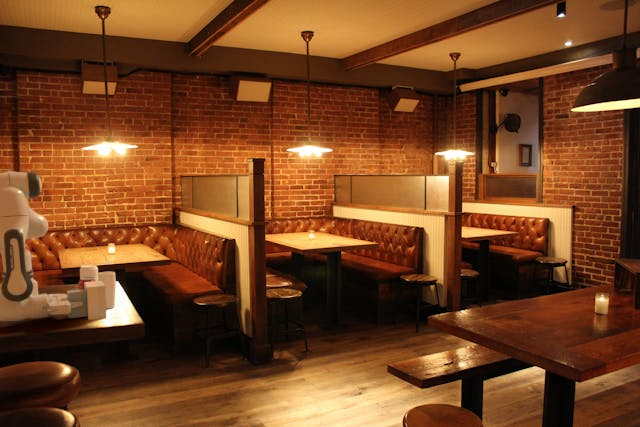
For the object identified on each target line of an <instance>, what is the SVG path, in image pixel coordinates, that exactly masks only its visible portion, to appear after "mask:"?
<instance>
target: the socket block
mask: <svg viewBox="0 0 640 427" xmlns="http://www.w3.org/2000/svg"><path fill="white" fill-rule="evenodd" d="M84 289H86V290H87V308H88V316H87V319H88V321H92V320H100V319H101V320H102V319H107V309H106V298H105V285H104V284H103V282H102V281H99V280H98V281H92V282H84Z"/></svg>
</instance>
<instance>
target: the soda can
mask: <svg viewBox="0 0 640 427" xmlns="http://www.w3.org/2000/svg"><path fill="white" fill-rule="evenodd" d="M92 281H95V279H94V277H84V278H80V277H79V281H78V290H80V289H84V282H92Z"/></svg>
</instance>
